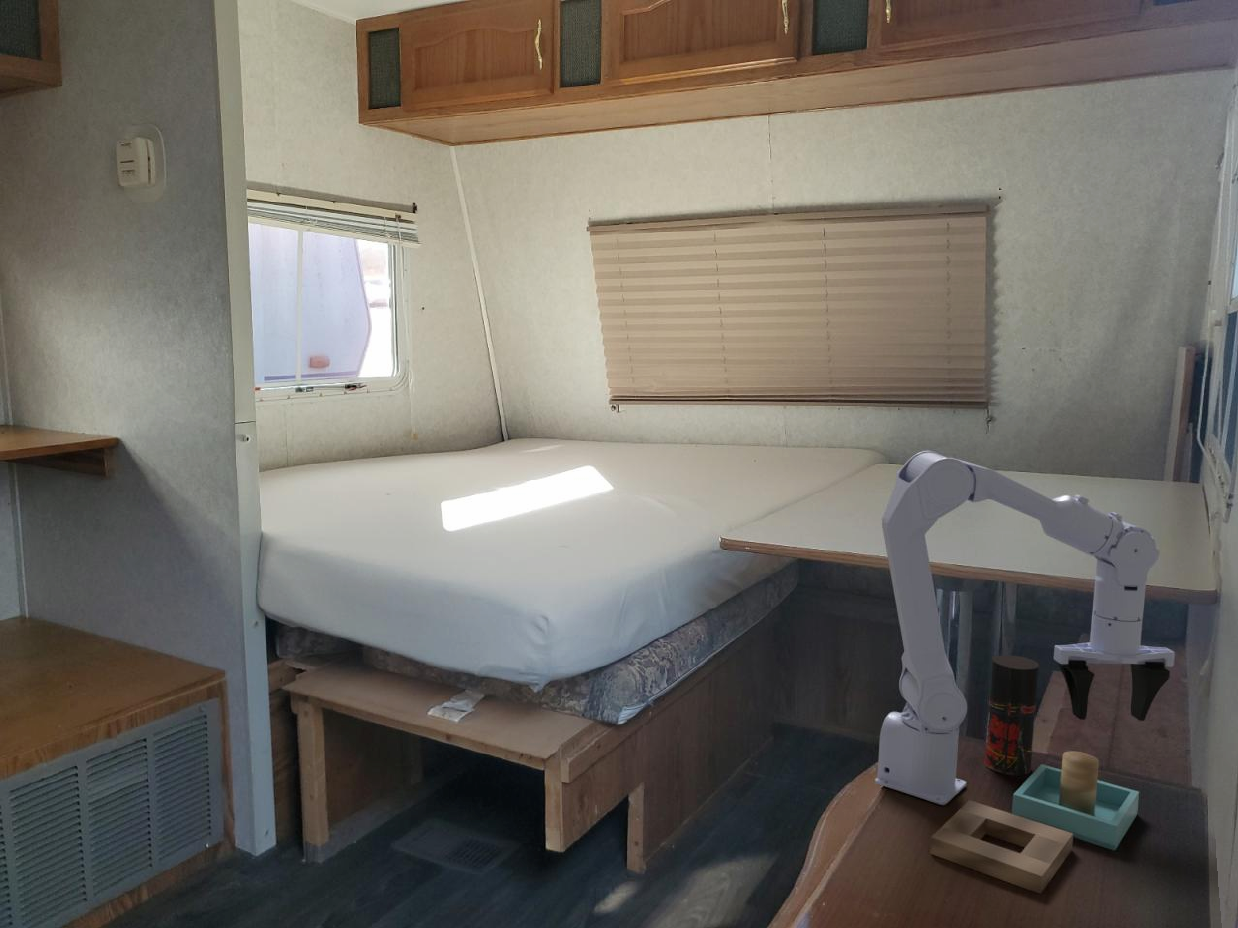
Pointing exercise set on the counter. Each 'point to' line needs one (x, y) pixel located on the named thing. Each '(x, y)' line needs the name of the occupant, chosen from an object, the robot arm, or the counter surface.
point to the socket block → (1020, 869)
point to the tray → (1101, 829)
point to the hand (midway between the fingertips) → (1108, 717)
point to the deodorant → (1011, 715)
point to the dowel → (1079, 782)
